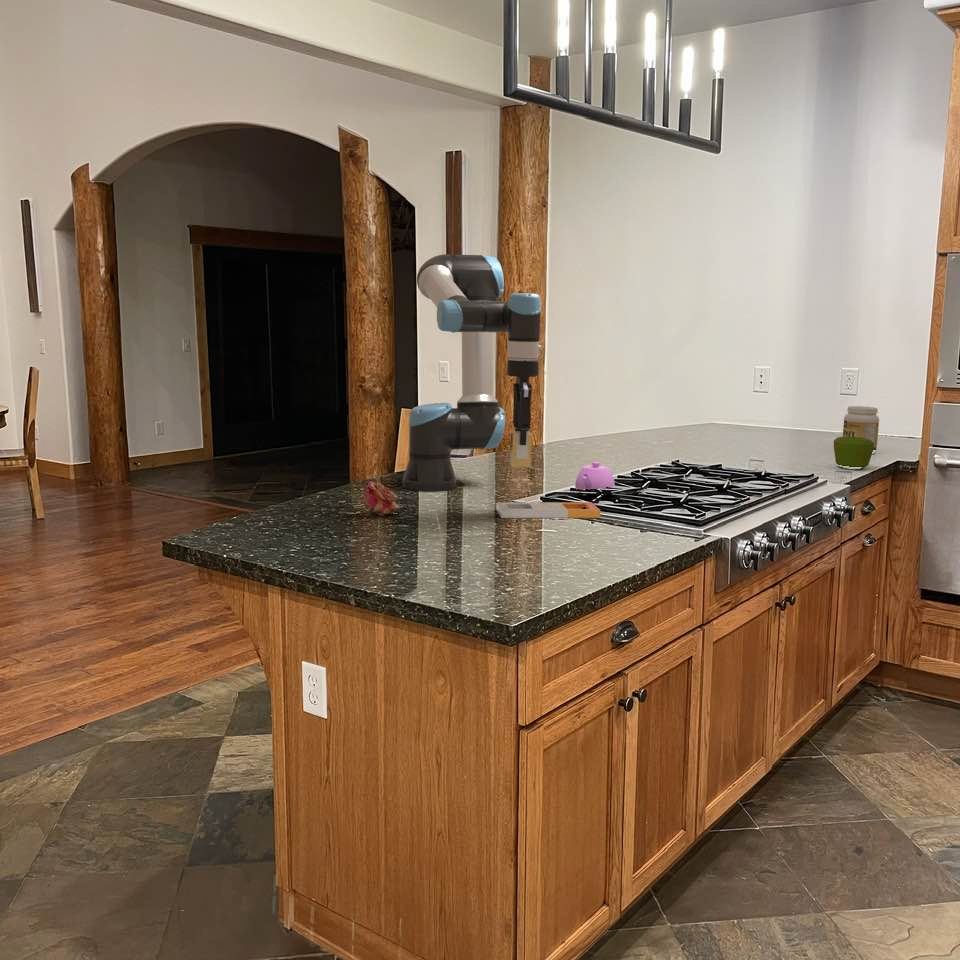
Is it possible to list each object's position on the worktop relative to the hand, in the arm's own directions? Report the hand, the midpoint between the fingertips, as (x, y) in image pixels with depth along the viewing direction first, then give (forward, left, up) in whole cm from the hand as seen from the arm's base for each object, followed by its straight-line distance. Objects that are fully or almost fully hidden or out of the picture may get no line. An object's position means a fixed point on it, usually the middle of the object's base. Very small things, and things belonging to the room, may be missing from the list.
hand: (520, 456), depth 235 cm
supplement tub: (+143, +113, -15) cm, 183 cm away
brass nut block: (0, 0, -2) cm, 2 cm away
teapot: (+24, +26, -15) cm, 38 cm away
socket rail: (+7, 0, -15) cm, 16 cm away
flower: (-33, +2, -15) cm, 36 cm away
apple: (+122, +76, -15) cm, 144 cm away
